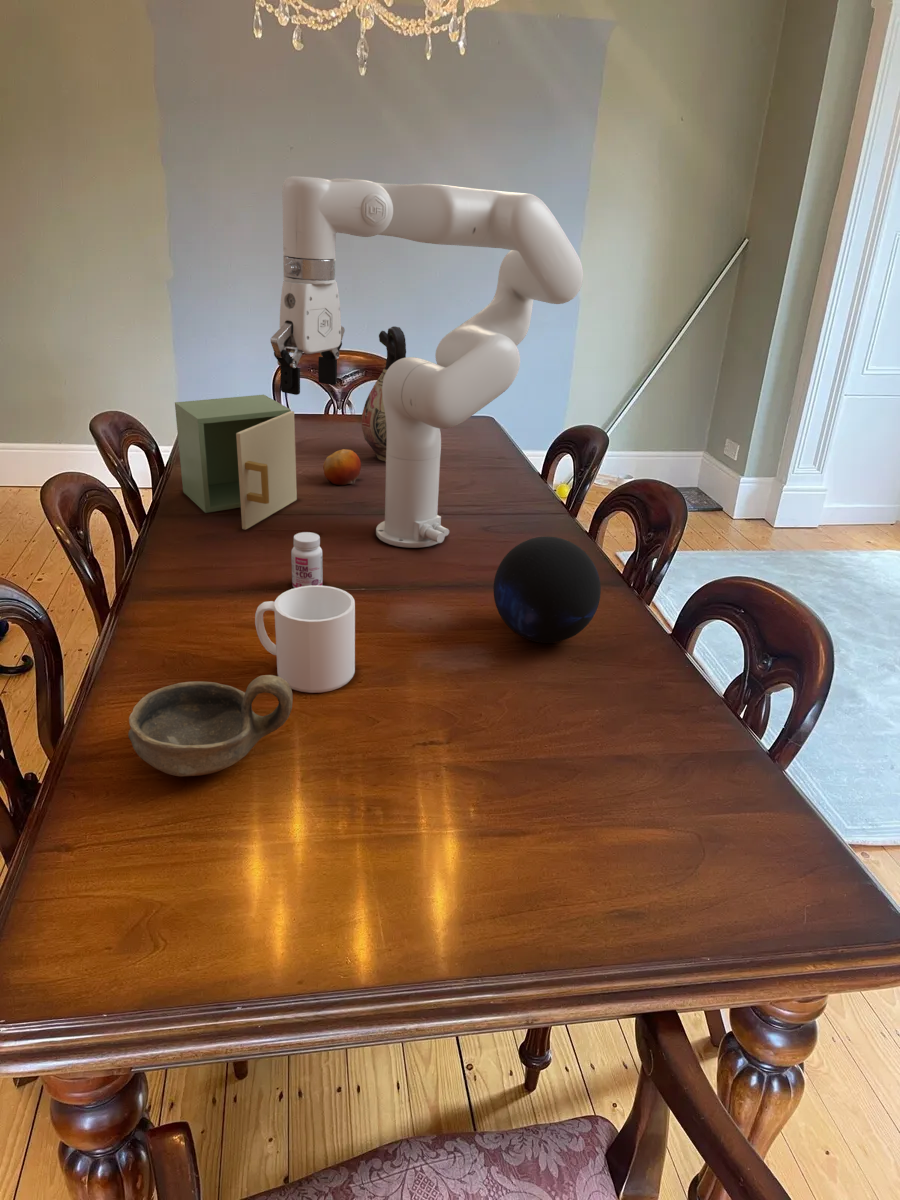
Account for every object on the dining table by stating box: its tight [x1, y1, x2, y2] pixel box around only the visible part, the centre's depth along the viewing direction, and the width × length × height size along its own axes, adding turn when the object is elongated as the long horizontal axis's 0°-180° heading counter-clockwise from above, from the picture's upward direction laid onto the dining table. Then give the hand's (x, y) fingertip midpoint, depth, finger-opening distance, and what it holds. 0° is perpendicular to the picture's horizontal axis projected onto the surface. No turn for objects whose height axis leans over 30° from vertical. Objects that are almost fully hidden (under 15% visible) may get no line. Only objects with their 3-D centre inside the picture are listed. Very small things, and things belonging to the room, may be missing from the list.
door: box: [236, 410, 298, 531], centre depth 153 cm, size 5×18×18 cm, turn 159°
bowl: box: [127, 674, 294, 777], centre depth 90 cm, size 14×18×10 cm
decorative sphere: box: [493, 536, 602, 644], centre depth 118 cm, size 15×15×15 cm
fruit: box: [322, 448, 362, 486], centre depth 176 cm, size 8×8×8 cm
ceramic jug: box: [361, 326, 407, 462], centre depth 187 cm, size 17×15×30 cm
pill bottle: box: [290, 531, 324, 589], centre depth 130 cm, size 5×5×8 cm
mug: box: [254, 585, 356, 694], centre depth 107 cm, size 13×10×10 cm
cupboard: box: [174, 394, 292, 514], centre depth 162 cm, size 13×18×18 cm
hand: (309, 388), depth 130 cm, fingers open, 9 cm apart
